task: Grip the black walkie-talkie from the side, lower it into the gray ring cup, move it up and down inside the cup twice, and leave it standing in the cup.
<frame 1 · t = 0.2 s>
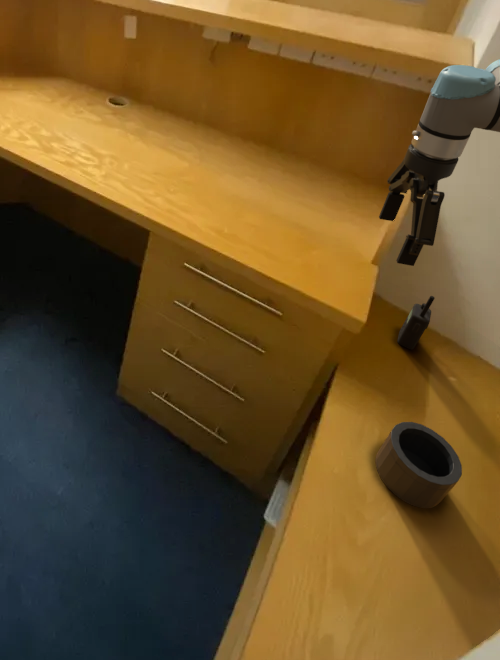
hand: (395, 240, 102), 26 cm above the table, tool pointing down, fingers open, 13 cm apart
gray ring cup: (407, 475, 89), on the table
walkie-talkie: (406, 341, 112), on the table
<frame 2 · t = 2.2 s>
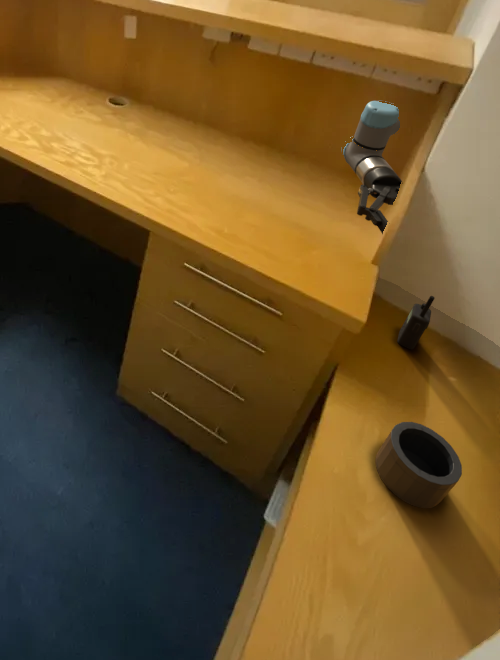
hand: (422, 236, 109), 22 cm above the table, tool horizontal, fingers open, 13 cm apart
nothing on the table moved.
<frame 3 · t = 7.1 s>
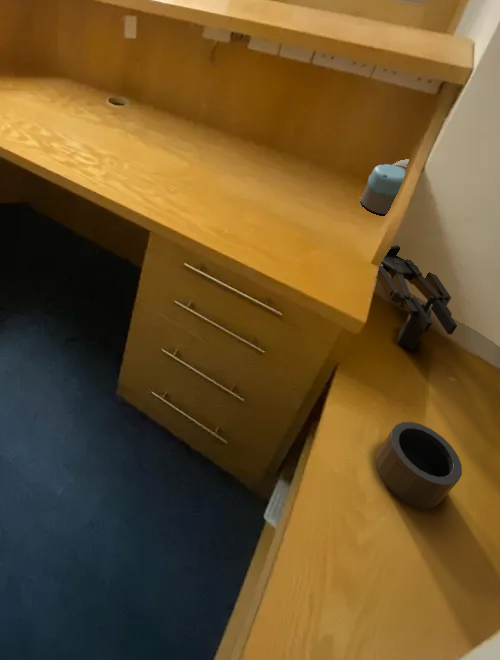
hand: (439, 328, 102), 11 cm above the table, tool horizontal, fingers closed on walkie-talkie, 4 cm apart
walkie-talkie: (406, 341, 112), on the table, touching gripper
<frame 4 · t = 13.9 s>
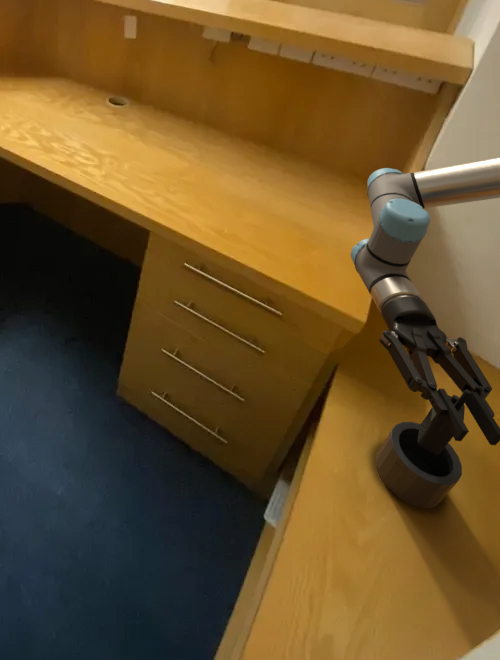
hand: (479, 437, 73), 21 cm above the table, tool horizontal, fingers closed on walkie-talkie, 4 cm apart
walkie-talkie: (429, 441, 84), point 10 cm above the table, touching gripper
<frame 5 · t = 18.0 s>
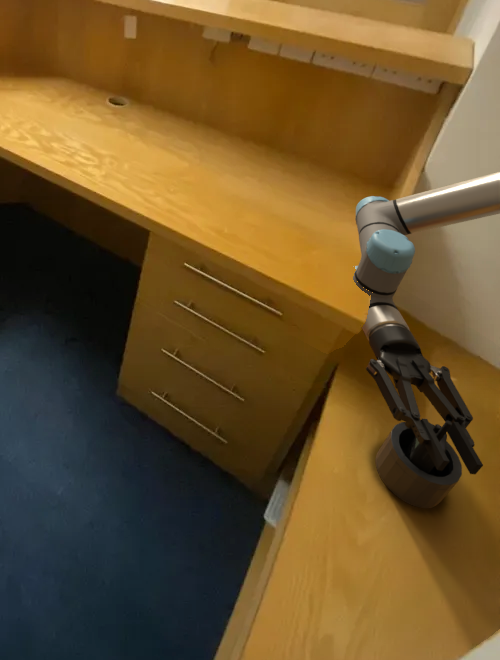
hand: (459, 467, 77), 14 cm above the table, tool horizontal, fingers closed on walkie-talkie, 4 cm apart
walkie-talkie: (414, 467, 87), point 3 cm above the table, touching gripper
when the fingers open (12 cm above the table, at t = 20.9 s): walkie-talkie stays where it is, resting on gray ring cup.
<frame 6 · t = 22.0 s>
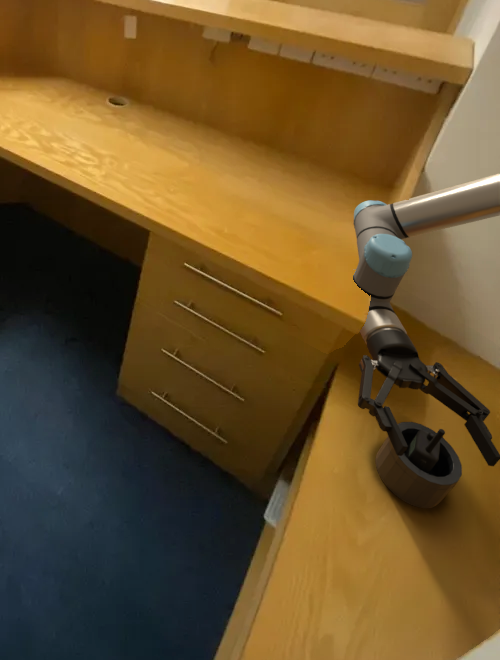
hand: (448, 456, 79), 13 cm above the table, tool horizontal, fingers open, 13 cm apart
walkie-talkie: (408, 474, 88), resting on gray ring cup
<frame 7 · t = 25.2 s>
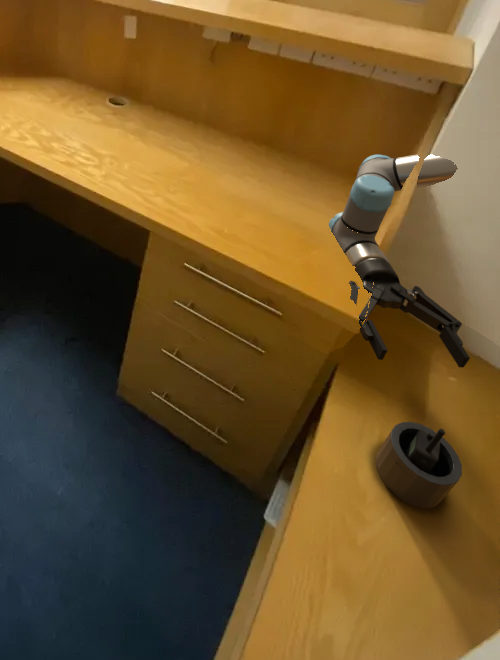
hand: (423, 359, 89), 17 cm above the table, tool horizontal, fingers open, 13 cm apart
nothing on the table moved.
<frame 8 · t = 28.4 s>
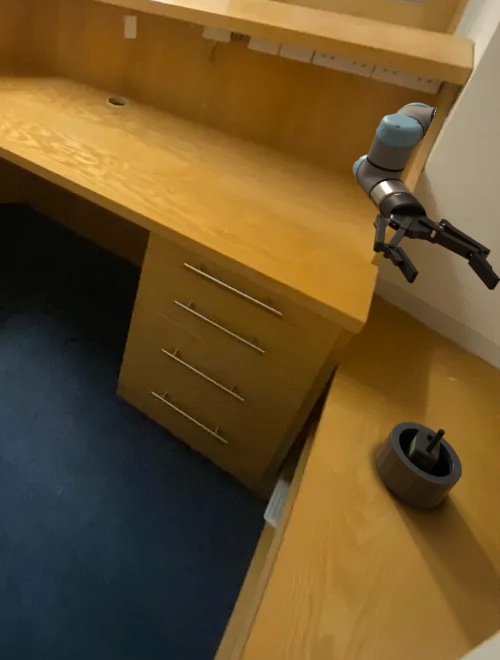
hand: (454, 281, 90), 28 cm above the table, tool horizontal, fingers open, 13 cm apart
nothing on the table moved.
at the end: walkie-talkie 0.1 cm off-centre in the gray ring cup, point 0.4 cm above the gray ring cup's base; walkie-talkie tilted 0°; the gripper is holding nothing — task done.
